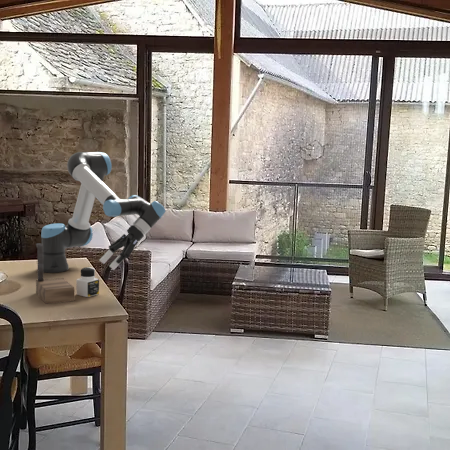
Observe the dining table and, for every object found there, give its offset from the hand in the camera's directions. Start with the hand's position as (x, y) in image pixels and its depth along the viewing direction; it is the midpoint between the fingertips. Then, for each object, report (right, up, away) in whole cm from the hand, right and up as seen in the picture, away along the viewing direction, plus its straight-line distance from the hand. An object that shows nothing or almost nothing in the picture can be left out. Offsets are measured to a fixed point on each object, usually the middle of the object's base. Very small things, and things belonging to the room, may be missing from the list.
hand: (106, 265), depth 274 cm
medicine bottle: (-8, -13, -1) cm, 15 cm away
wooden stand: (-21, -13, -7) cm, 26 cm away
